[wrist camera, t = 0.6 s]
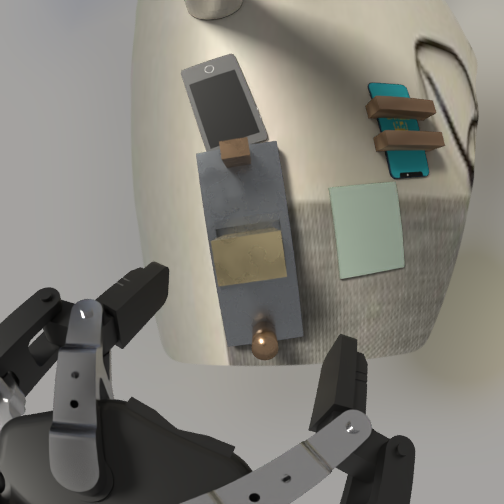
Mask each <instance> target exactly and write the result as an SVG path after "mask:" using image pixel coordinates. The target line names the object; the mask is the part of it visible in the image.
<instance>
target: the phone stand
mask: <svg viewBox="0 0 504 504" xmlns="http://www.w3.org/2000/svg"><path fill="white" fill-rule="evenodd" d="M366 110H367V114H368V118H401V119H417V120H425V119H426V118H428V117H430V116H432V115H434V114H435V113H436V110H435V107H434V103H433V101H432V100H424V99H415V98H405V97H392V96H375V97H374V98H373V99H372V100H371V101H370V102H369V103H368V104H367V105H366ZM374 143H375V148H376V152H377V151H394V150H425V151H431V150H434V149H437V148H440V147H443V146H445V144H444V140H443V136H442V132H429V131H406V130H385V131H383V132H382V133H380V134H379V135H377V136H376V137H374Z"/></svg>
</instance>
